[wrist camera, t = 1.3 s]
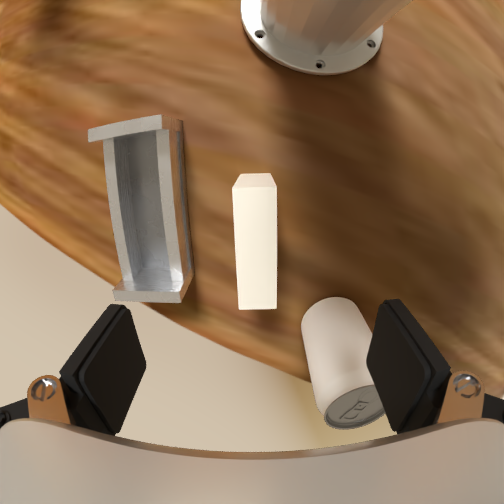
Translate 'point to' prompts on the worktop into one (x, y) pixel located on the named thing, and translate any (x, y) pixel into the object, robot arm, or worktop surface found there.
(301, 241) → the worktop surface
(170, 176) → the track
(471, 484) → the robot arm
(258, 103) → the worktop surface
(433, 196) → the worktop surface
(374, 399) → the can
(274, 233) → the plain white block
